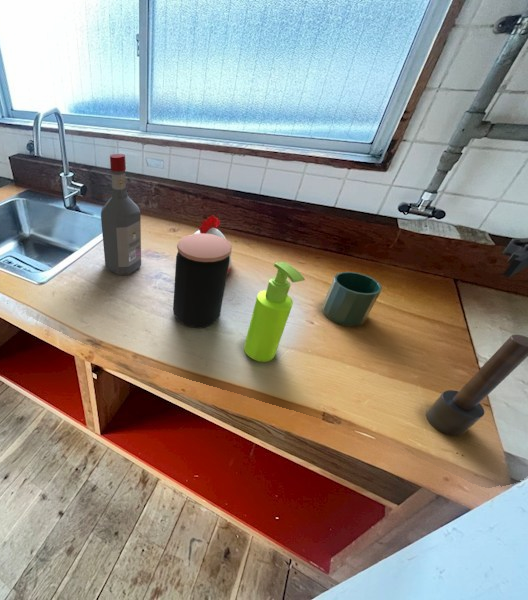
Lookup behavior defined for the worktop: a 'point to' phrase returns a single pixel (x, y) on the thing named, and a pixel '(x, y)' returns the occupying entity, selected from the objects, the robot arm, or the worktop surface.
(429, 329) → the worktop surface
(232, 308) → the worktop surface
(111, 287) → the worktop surface
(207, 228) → the kitchen timer
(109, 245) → the liquor
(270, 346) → the soap dispenser
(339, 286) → the teal faceted cup
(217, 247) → the coffee jar
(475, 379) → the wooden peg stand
